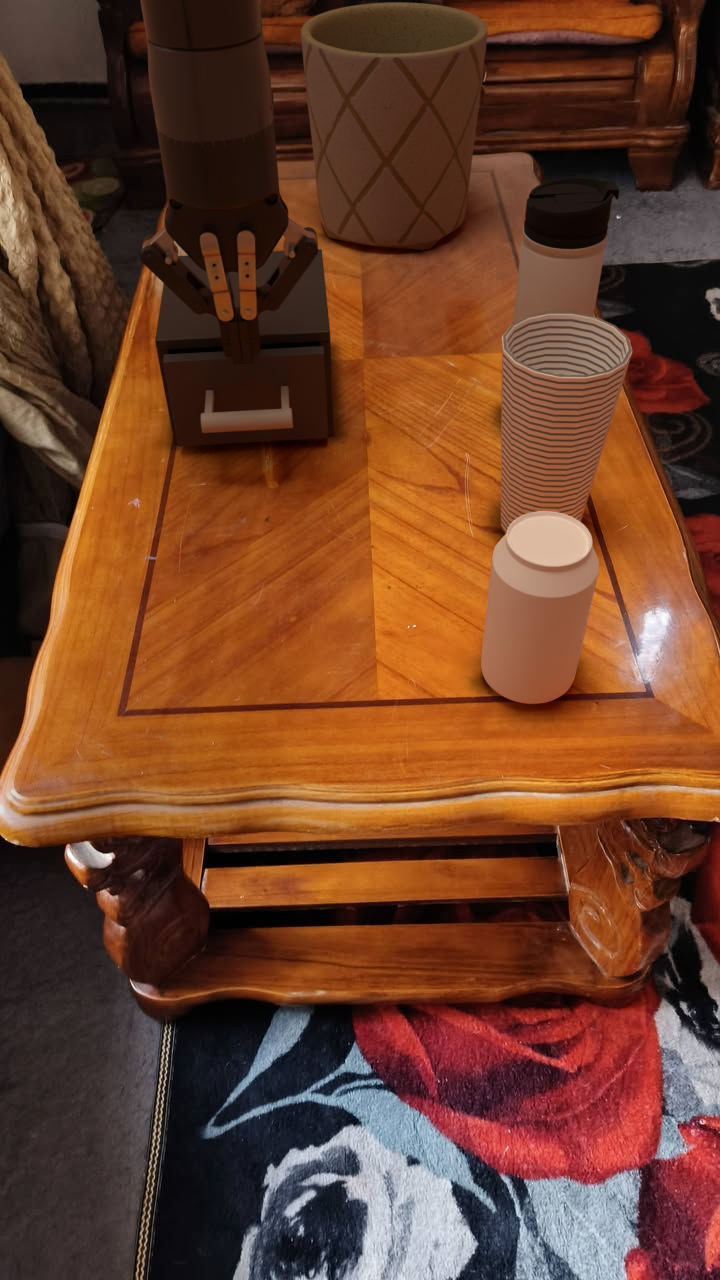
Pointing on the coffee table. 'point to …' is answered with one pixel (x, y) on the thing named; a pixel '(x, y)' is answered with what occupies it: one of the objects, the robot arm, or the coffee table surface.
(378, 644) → the coffee table surface
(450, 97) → the planter
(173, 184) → the robot arm
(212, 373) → the pull-out drawer
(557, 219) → the travel mug
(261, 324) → the single drawer box
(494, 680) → the beverage can
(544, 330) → the cup
